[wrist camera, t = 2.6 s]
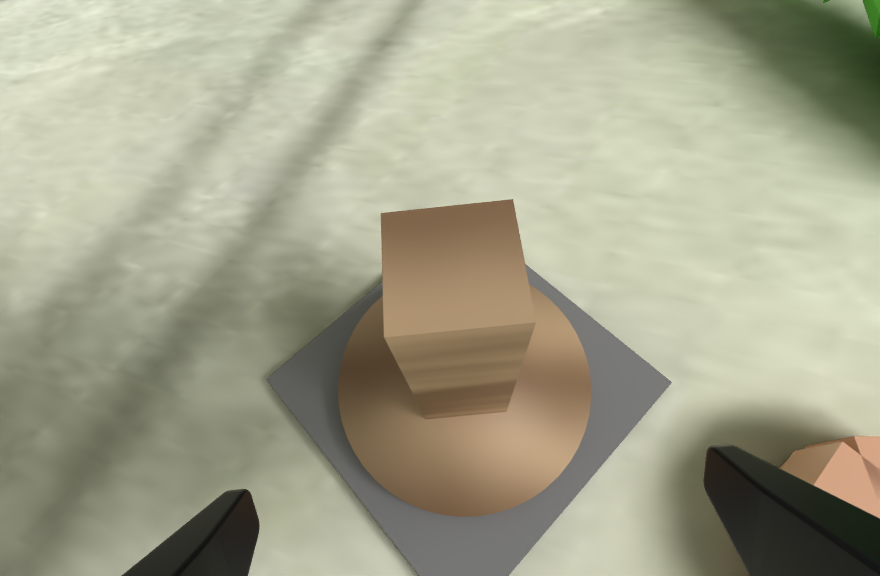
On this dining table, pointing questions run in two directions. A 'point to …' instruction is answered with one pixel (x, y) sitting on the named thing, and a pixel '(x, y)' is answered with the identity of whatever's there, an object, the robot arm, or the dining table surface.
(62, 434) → the dining table surface
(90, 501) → the dining table surface
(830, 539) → the robot arm
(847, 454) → the terracotta bowl
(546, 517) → the rubber mat
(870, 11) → the decorative tree
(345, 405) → the walnut lid
